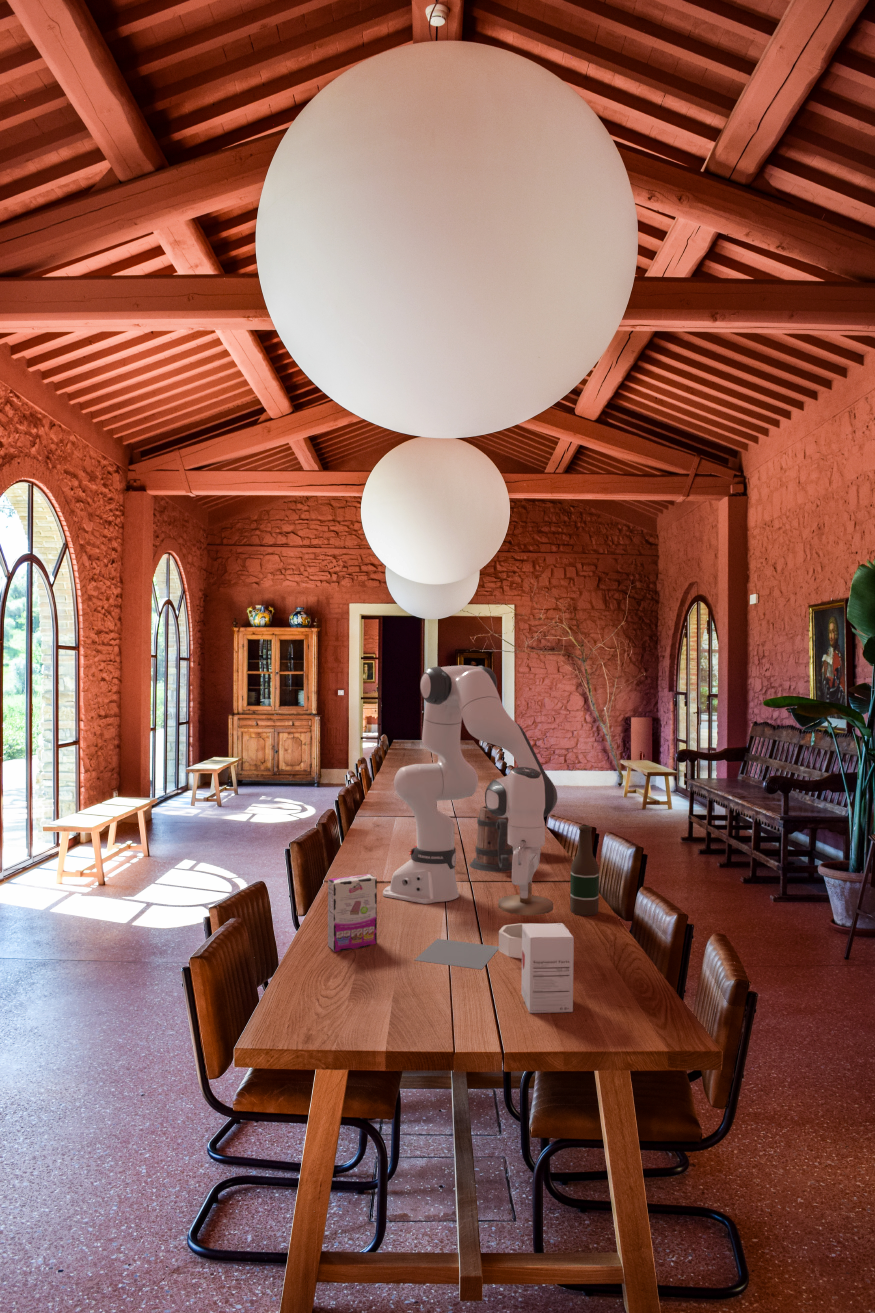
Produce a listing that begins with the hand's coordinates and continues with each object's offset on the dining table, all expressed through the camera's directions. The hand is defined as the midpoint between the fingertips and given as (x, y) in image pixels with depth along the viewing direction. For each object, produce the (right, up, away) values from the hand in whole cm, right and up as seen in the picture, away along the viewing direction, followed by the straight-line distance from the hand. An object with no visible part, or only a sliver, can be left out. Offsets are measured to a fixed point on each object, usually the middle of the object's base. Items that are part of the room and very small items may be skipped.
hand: (525, 895), depth 196 cm
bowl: (0, -14, 0) cm, 14 cm away
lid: (0, -3, 0) cm, 3 cm away
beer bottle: (+20, -15, +33) cm, 41 cm away
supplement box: (+1, -13, -30) cm, 33 cm away
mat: (-16, -13, -3) cm, 21 cm away
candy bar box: (-42, -13, +3) cm, 44 cm away
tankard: (-1, -15, +83) cm, 84 cm away
